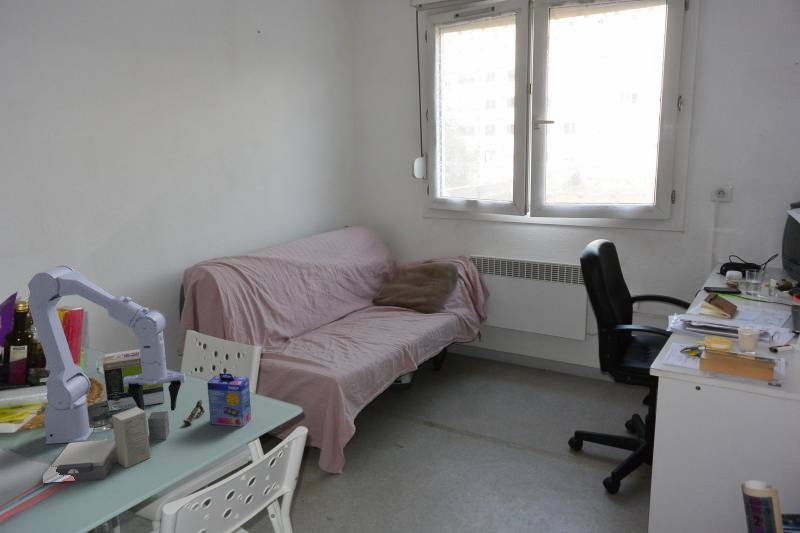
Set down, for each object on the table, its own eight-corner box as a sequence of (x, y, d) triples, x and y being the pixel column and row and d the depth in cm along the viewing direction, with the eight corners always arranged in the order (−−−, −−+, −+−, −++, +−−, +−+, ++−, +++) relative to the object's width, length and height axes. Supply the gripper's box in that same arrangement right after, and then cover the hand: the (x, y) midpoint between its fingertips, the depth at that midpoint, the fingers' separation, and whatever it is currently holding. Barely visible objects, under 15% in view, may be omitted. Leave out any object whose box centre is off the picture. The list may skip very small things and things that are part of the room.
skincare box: (141, 452, 145) (137, 405, 143) (151, 458, 142) (146, 410, 140) (116, 462, 140) (111, 414, 138) (125, 468, 137) (120, 420, 135)
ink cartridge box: (208, 425, 159) (205, 374, 156) (218, 416, 165) (214, 366, 162) (243, 427, 158) (240, 376, 155) (251, 418, 163) (249, 368, 160)
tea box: (162, 391, 182) (159, 345, 179) (164, 403, 173) (160, 355, 170) (108, 399, 176) (103, 352, 173) (107, 413, 167) (102, 363, 164)
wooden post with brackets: (208, 409, 167) (203, 398, 164) (194, 431, 161) (188, 420, 158) (202, 408, 167) (197, 397, 165) (188, 431, 161) (183, 420, 158)
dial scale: (42, 484, 131) (40, 470, 131) (67, 452, 145) (65, 440, 144) (104, 479, 133) (103, 466, 133) (123, 448, 147) (122, 436, 146)
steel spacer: (149, 441, 151) (147, 419, 149) (153, 433, 154) (151, 412, 153) (166, 439, 151) (164, 418, 150) (169, 432, 155) (167, 411, 154)
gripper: (117, 367, 144) (123, 419, 146) (180, 363, 146) (184, 414, 149) (126, 357, 151) (131, 407, 153) (185, 353, 153) (189, 403, 155)
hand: (157, 410), depth 151 cm, fingers open, 7 cm apart
